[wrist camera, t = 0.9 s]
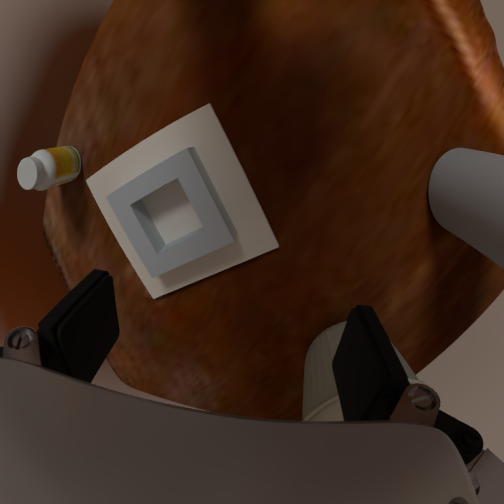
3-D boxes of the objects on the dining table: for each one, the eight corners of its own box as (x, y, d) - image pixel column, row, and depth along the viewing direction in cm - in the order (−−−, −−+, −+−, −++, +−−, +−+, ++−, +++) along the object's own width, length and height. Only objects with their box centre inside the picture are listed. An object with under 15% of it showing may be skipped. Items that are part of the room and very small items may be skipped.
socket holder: (88, 179, 36) (71, 185, 32) (210, 104, 32) (203, 99, 28) (155, 296, 42) (145, 311, 38) (278, 244, 39) (280, 257, 35)
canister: (288, 387, 49) (293, 490, 29) (291, 303, 42) (306, 425, 22) (382, 378, 48) (414, 470, 28) (405, 297, 41) (469, 394, 21)
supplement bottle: (72, 188, 36) (30, 204, 28) (51, 167, 35) (9, 179, 26) (88, 159, 35) (46, 169, 26) (66, 138, 34) (23, 144, 25)
